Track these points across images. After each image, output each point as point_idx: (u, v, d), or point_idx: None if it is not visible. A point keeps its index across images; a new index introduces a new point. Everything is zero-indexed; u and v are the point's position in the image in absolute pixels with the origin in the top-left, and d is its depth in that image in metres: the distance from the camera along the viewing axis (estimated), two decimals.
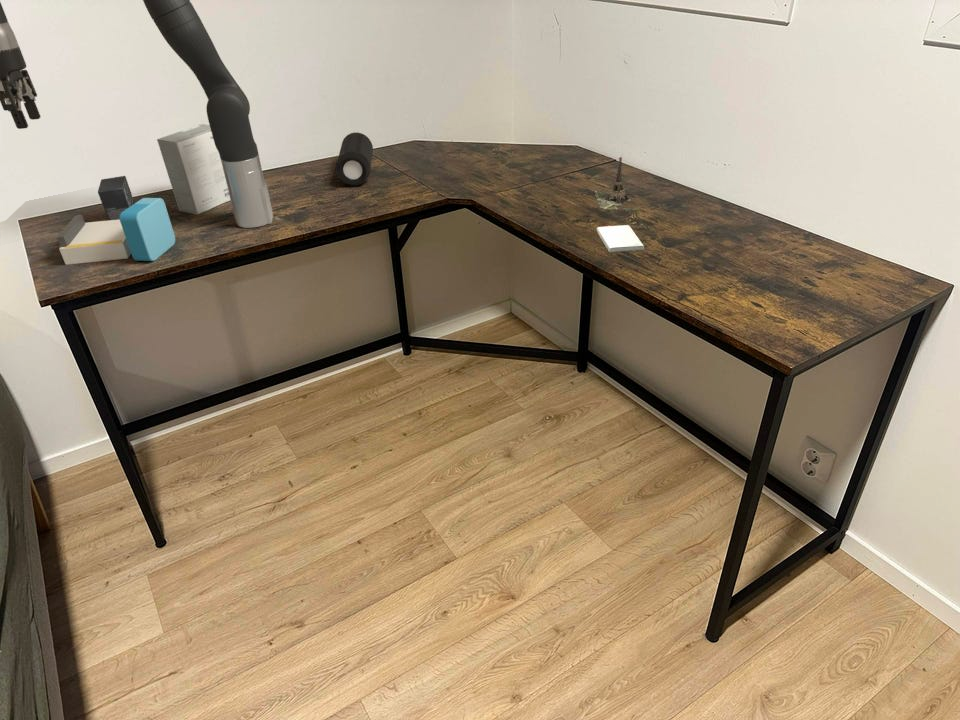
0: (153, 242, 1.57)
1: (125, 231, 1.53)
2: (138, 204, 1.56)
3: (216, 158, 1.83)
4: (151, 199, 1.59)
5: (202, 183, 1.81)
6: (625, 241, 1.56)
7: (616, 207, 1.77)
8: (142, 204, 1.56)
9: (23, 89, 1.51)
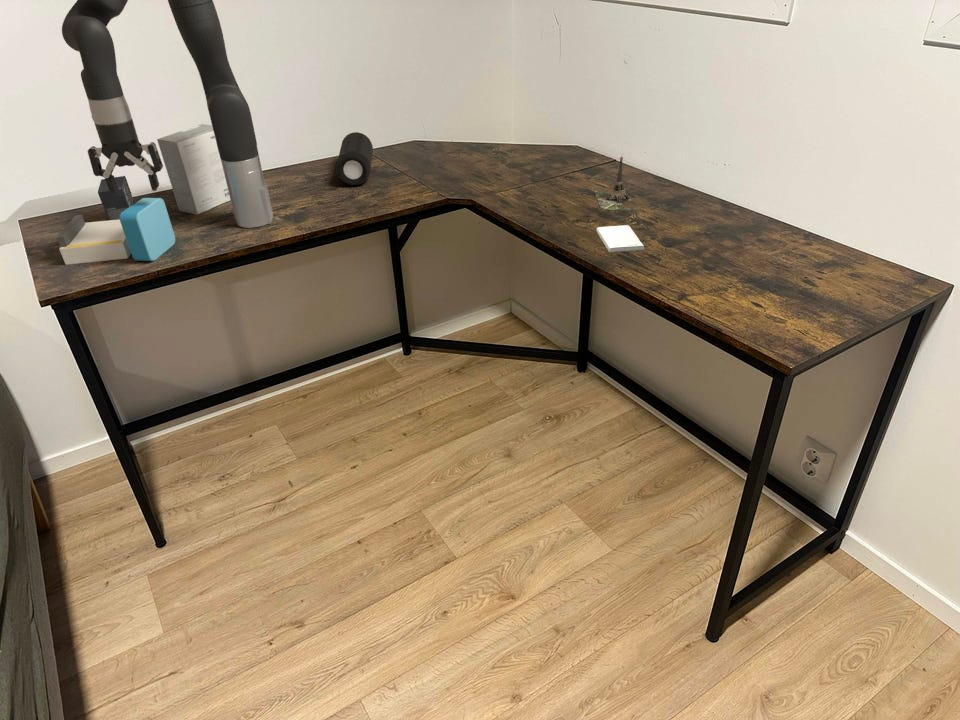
0: (153, 242, 1.57)
1: (125, 231, 1.53)
2: (138, 204, 1.56)
3: (216, 158, 1.83)
4: (151, 199, 1.59)
5: (202, 183, 1.81)
6: (625, 242, 1.56)
7: (617, 207, 1.77)
8: (142, 204, 1.56)
9: None
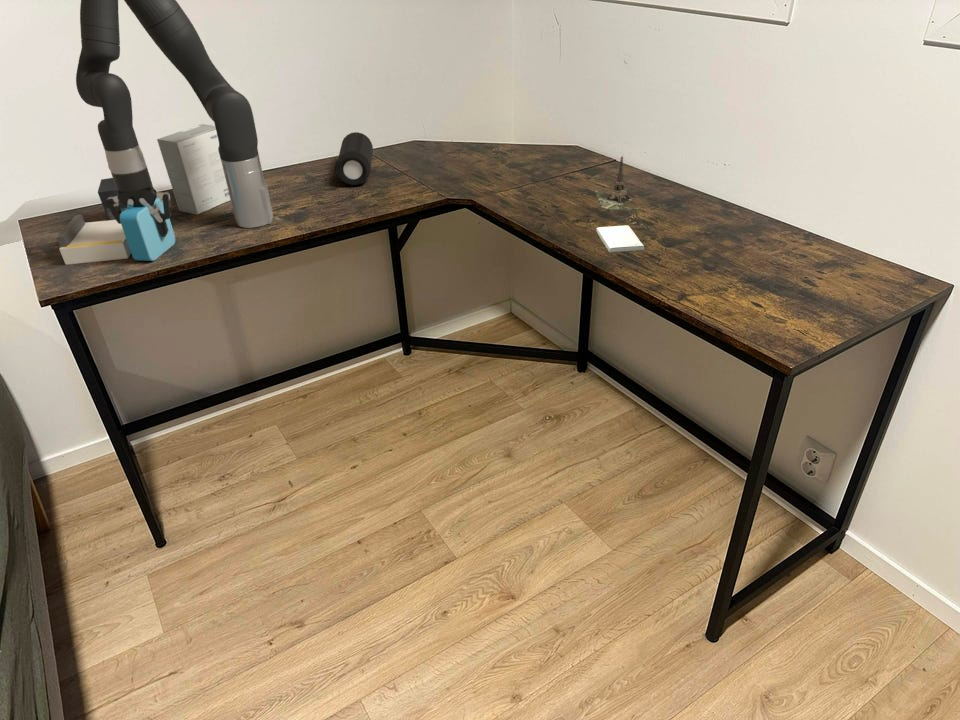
0: (153, 242, 1.57)
1: (125, 230, 1.53)
2: None
3: (216, 158, 1.83)
4: None
5: (202, 183, 1.81)
6: (625, 242, 1.56)
7: (618, 207, 1.77)
8: None
9: None
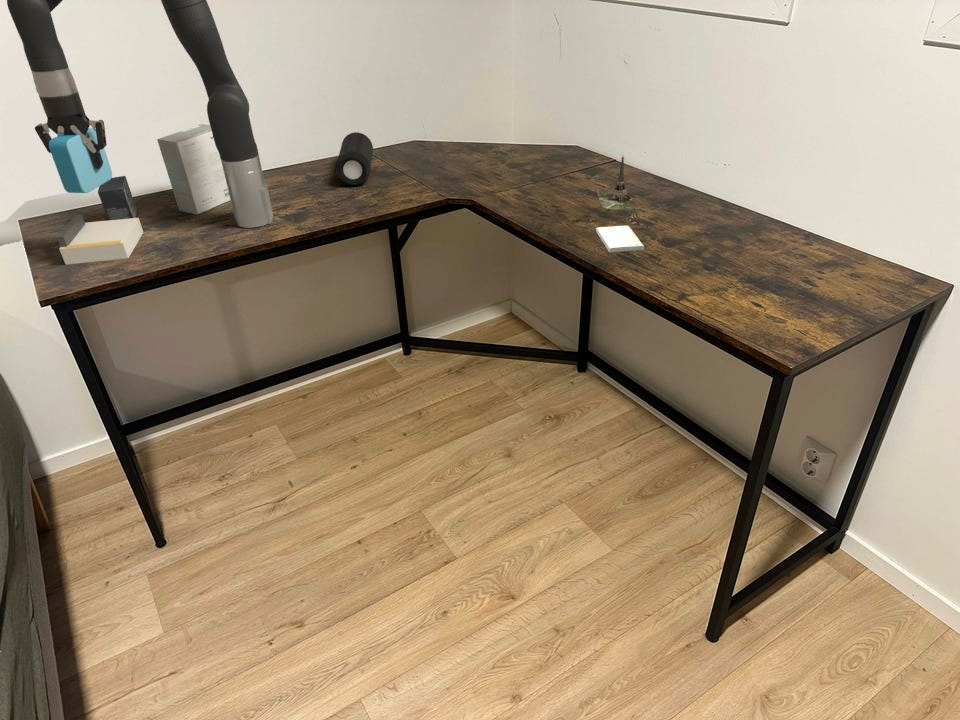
0: (85, 173, 1.51)
1: (55, 159, 1.46)
2: None
3: (216, 158, 1.83)
4: None
5: (202, 183, 1.81)
6: (625, 242, 1.56)
7: (619, 206, 1.77)
8: None
9: None
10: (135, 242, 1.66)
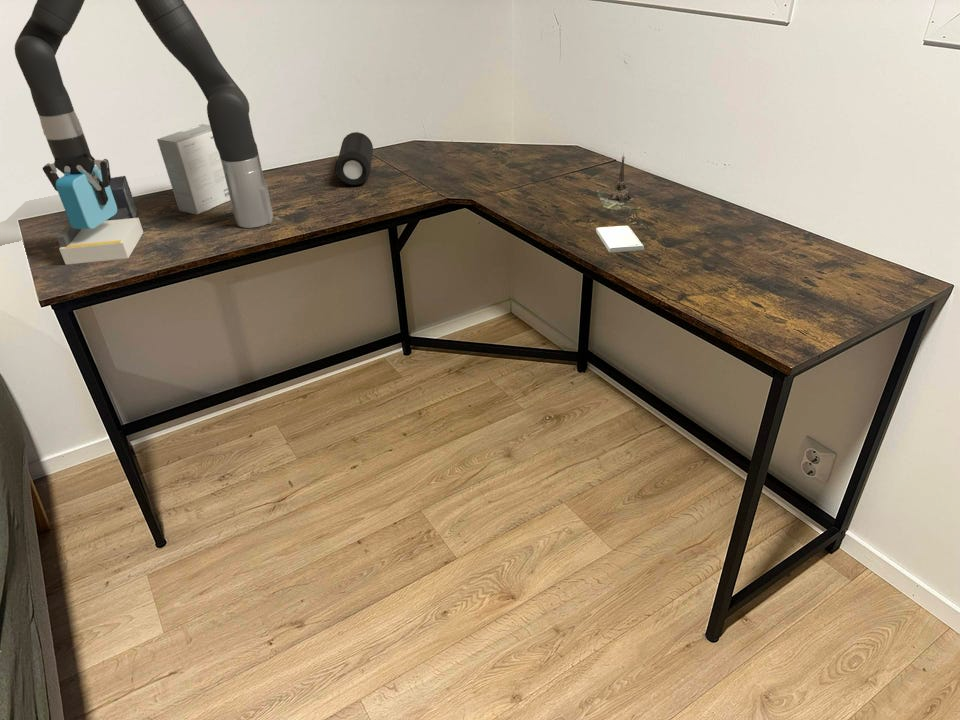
0: (91, 210, 1.57)
1: (62, 198, 1.52)
2: None
3: (216, 158, 1.83)
4: None
5: (202, 183, 1.81)
6: (625, 242, 1.56)
7: (619, 206, 1.77)
8: None
9: None
10: (135, 242, 1.66)
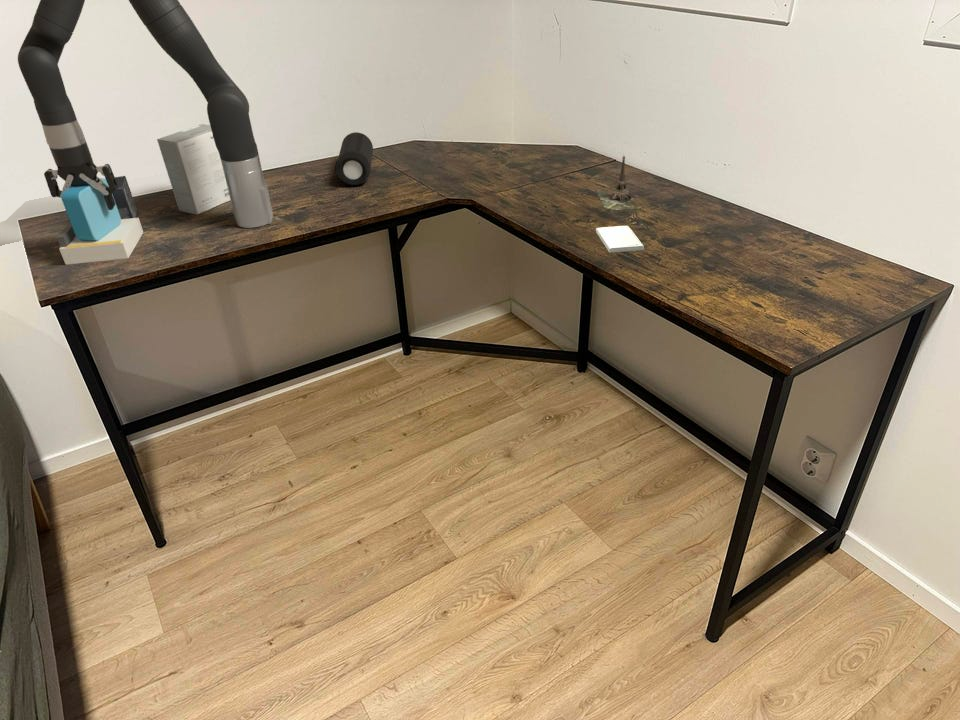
0: (96, 221, 1.58)
1: (67, 210, 1.54)
2: None
3: (216, 158, 1.83)
4: None
5: (202, 183, 1.81)
6: (625, 242, 1.56)
7: (620, 206, 1.77)
8: None
9: None
10: (135, 242, 1.66)
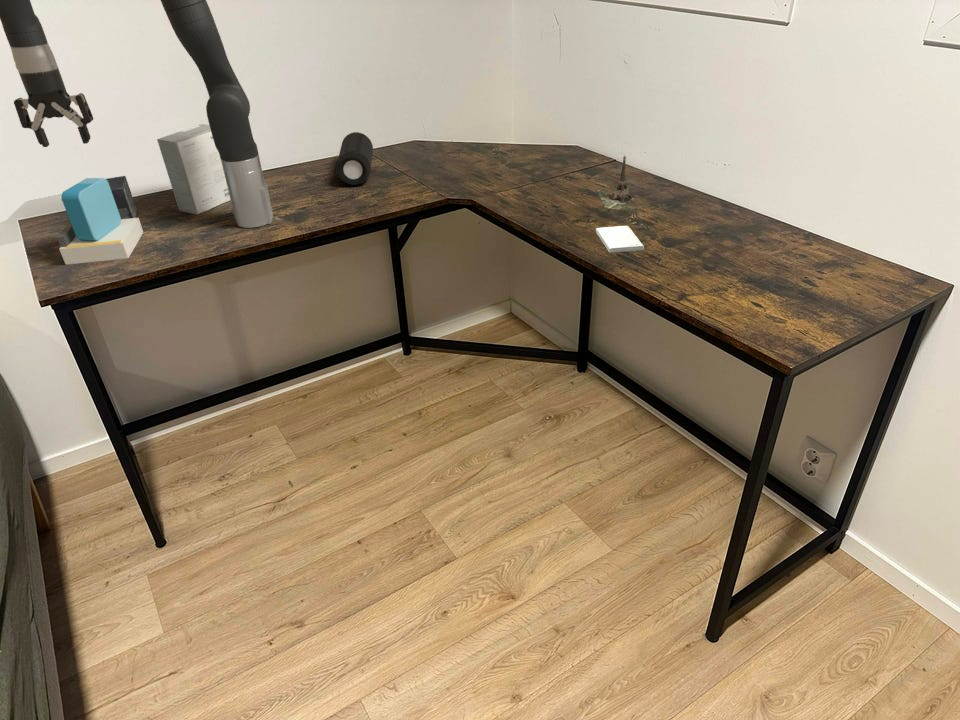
0: (96, 221, 1.58)
1: (67, 210, 1.54)
2: (81, 183, 1.57)
3: (216, 158, 1.83)
4: (94, 179, 1.59)
5: (202, 183, 1.81)
6: (625, 242, 1.56)
7: (621, 206, 1.77)
8: (84, 183, 1.57)
9: None
10: (135, 242, 1.66)
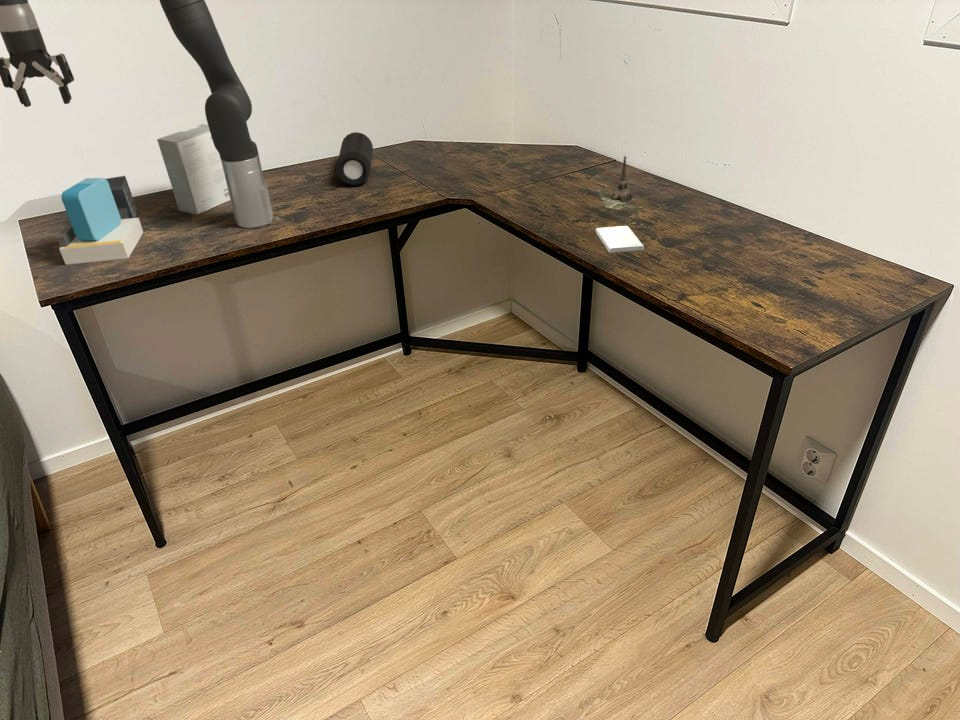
0: (96, 221, 1.58)
1: (67, 210, 1.54)
2: (81, 183, 1.57)
3: (216, 158, 1.83)
4: (94, 179, 1.59)
5: (202, 183, 1.81)
6: (625, 242, 1.56)
7: (621, 206, 1.77)
8: (84, 183, 1.57)
9: None
10: (135, 242, 1.66)
